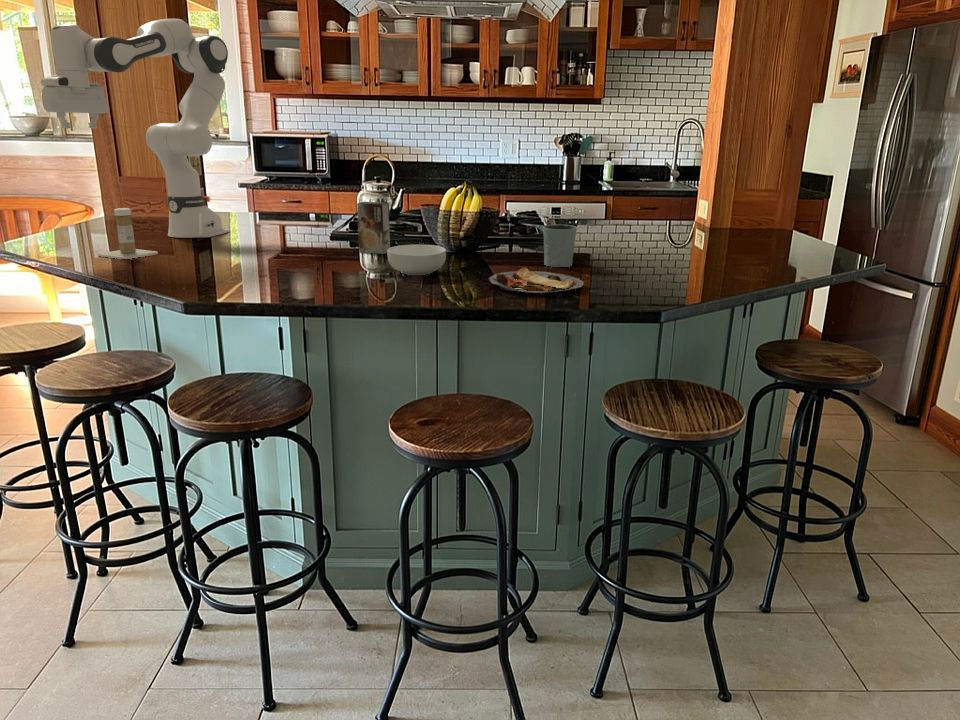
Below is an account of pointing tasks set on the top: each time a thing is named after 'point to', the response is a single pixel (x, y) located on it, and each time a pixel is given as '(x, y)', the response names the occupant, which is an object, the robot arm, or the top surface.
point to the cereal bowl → (416, 258)
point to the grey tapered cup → (559, 245)
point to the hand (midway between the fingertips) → (80, 128)
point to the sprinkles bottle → (125, 230)
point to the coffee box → (373, 227)
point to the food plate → (535, 280)
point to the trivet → (128, 254)
